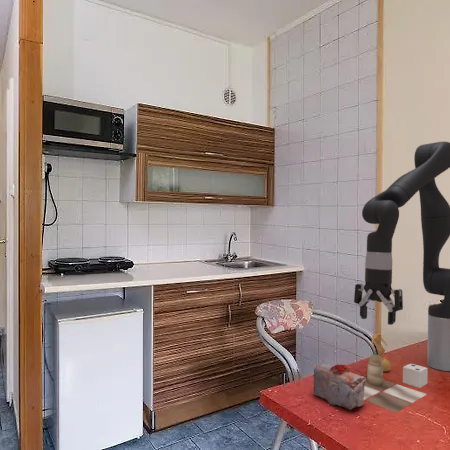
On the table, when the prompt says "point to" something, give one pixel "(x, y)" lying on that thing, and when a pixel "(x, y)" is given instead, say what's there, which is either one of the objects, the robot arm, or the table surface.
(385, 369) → the figurine
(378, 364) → the pawn
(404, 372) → the die
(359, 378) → the food item
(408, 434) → the table surface
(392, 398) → the game mat
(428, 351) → the robot arm
